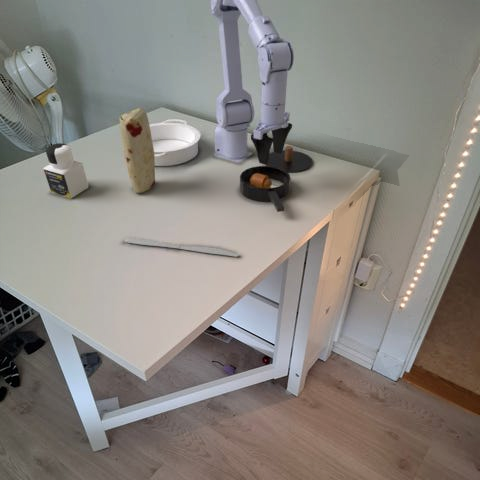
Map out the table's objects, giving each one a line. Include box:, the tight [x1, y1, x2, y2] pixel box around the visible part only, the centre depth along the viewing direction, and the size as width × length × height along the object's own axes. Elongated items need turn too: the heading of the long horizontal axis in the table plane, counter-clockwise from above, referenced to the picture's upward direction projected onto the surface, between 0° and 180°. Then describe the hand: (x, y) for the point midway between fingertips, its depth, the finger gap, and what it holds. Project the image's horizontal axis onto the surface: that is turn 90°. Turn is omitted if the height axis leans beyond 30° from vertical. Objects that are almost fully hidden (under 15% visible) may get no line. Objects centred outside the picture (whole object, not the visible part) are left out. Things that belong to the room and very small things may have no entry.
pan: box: [239, 165, 292, 203], centre depth 116 cm, size 13×13×4 cm
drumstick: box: [249, 173, 280, 188], centre depth 116 cm, size 10×4×4 cm, turn 57°
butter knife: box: [123, 237, 240, 258], centre depth 99 cm, size 1×27×3 cm
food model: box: [118, 107, 156, 194], centre depth 112 cm, size 10×7×20 cm
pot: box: [149, 118, 201, 167], centre depth 134 cm, size 29×22×5 cm
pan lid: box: [265, 145, 313, 174], centre depth 128 cm, size 14×14×5 cm
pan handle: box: [268, 190, 286, 213], centre depth 108 cm, size 9×2×1 cm, turn 12°
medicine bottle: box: [43, 142, 89, 200], centre depth 114 cm, size 7×7×12 cm
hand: (270, 157), depth 113 cm, fingers open, 7 cm apart
